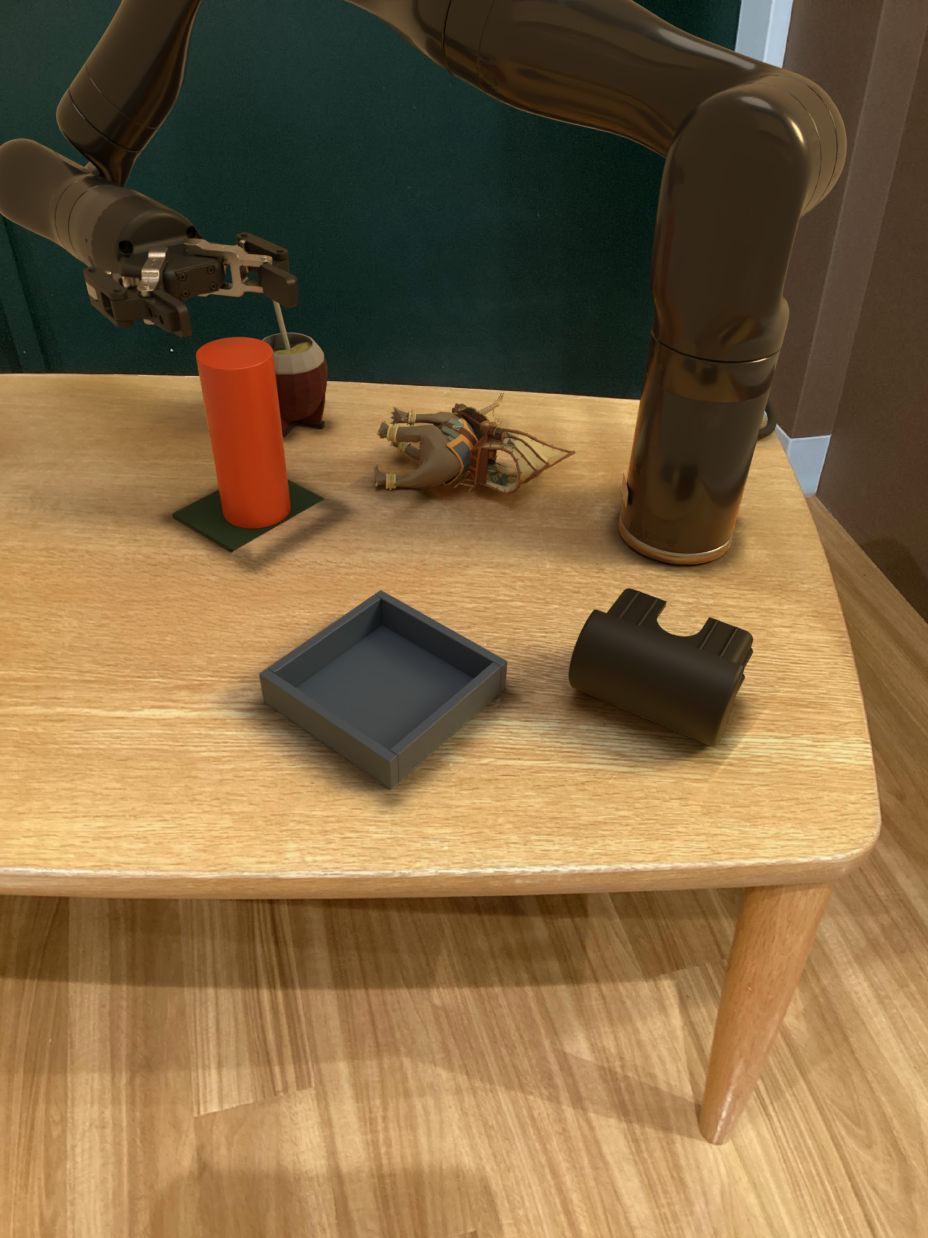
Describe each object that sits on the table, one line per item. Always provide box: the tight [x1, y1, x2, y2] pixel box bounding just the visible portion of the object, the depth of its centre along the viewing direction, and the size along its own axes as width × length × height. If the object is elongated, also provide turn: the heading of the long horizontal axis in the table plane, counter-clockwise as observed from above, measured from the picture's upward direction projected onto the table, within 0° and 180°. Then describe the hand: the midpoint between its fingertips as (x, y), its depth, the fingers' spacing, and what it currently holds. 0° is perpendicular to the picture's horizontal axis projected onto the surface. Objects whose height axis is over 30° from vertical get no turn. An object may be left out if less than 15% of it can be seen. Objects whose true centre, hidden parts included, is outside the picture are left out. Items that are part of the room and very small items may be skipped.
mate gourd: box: [261, 300, 328, 438], centre depth 85 cm, size 8×8×15 cm
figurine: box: [374, 392, 576, 496], centre depth 81 cm, size 20×6×17 cm
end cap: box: [567, 587, 754, 747], centre depth 59 cm, size 10×7×7 cm
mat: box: [171, 479, 326, 553], centre depth 78 cm, size 10×10×1 cm
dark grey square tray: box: [258, 589, 508, 791], centre depth 61 cm, size 11×11×3 cm
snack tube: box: [195, 336, 291, 529], centre depth 73 cm, size 6×6×14 cm
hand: (241, 307), depth 65 cm, fingers open, 8 cm apart
